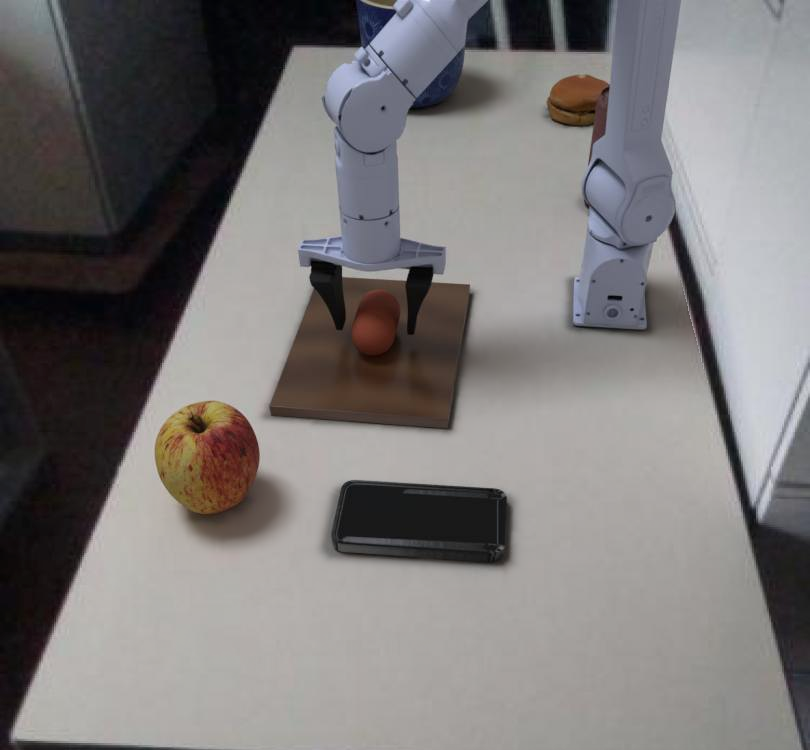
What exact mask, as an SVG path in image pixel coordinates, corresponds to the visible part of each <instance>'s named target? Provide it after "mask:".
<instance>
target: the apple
mask: <svg viewBox="0 0 810 750" xmlns="http://www.w3.org/2000/svg"><path fill="white" fill-rule="evenodd" d="M260 454H261V453H260V446H259V441H258V437H257V435H256V433H255V430H254V428H253V426H252V424H251V423H250V421H249V420H248V418H247V417H246V416H245V415H244V414H243V413H242V412H241V411H240V410H238V409H237V408H235V407H234V406H232V405H230V404H227V403H225V402H223V401H218V400H206V401H205V400H204V401H198V402H195V403H191V404H189V405H185V406H184V407H182V408H180V409H178V410H176V411H175V412H174V413H172V414H171V416H169V417H168V418H167V419H166V421H164V423H163V424H162V426H161V428H160V429H159V432H158V434H157V436H156V439H155V444H154V461H155V466H156V470H157V474H158V476H159V479H160V481H161V483H162V485H163V487H164V488H165V489H166V491H167V493H169V495H170V496H171V497H172V498H173V499H174V500H175V501H176V502H178V503H179V504H180V505H182V506H183V507H184V508H186V509H187V510H189V511H191V512H193V513H196V514H200V515H213V514H219V513H222V512H225V511H227V510H229V509H231V508H233V507H235V506H237V505H238V504H240V503H241V502H242V501H243V500H244V498H246V496H247V495H248V493H249V491H250V489H251V487H252V485H253V483H254V481H255V479H256V477H257V474H258V470H259V466H260V461H261V460H260V457H261V456H260Z"/></svg>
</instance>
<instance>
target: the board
mask: <svg viewBox="0 0 810 750" xmlns="http://www.w3.org/2000/svg"><path fill="white" fill-rule="evenodd" d="M342 284H343V295H344V302H345V309H346V321H345V324H344V327H343V330H336V327H335V324H334V321H333V318H332V316H331V314H330V312H329V309H328V308H327V306H326V304H325V302H324V300H323V299H322V297H321V296H320V295H319V293H318V292H317V291H316V290H315V289H314V288H313V289H312V293H311V295H310V298H309V301H308V303H307V306H306V308H305V311H304V314H303V317H302V319H301V321H300V324H299V326H298V329H297V332H296V334H295V337H294V340H293V343H292V345H291V348H290V350H289V353H288V355H287V358H286V361H285V363H284V366H283V369H282V372H281V374H280V376H279V379H278V382H277V384H276V388H275V390H274V393H273V395H272V398H271V400H270V403H269V405H268V407H269V412H270V415H271V416H279V417H293V418H306V419H318V420H331V421H345V422H356V423H357V422H359V423H369V424H384V425H395V426H397V425H398V426H409V427H421V428H422V427H423V428H435V429H448V428H449V423H450V417H451V409H452V405H453V398H454V391H455V386H456V379H457V374H458V367H459V361H460V356H461V350H462V343H463V337H464V331H465V324H466V319H467V313H468V306H469V301H470V294H471V284H469V283H453V282H452V283H451V282H438V281H437V282H435V281H432V284H431V287H430V289H429V291H428V293H427V295H426V297H425V298H424V300H423V302H422V304H421V307H420V309H419V312H418V315H417V323H416V329H415V333H414V335H407V318H408V305H407V295H406V288H405V284H406V280H399V279H384V278H382V279H381V278H365V277H349V276H342ZM376 289H382V290H386V291H388V292H390V293H392V294H393V295H394V296H395V297H396V299H397V300H398V302H399V305H400V318H399V322H398V326H397V330H396V334H395V338H394V341H393V344H392V345H391V347H390V348H389V349H388V350H387V351H386V352H384V353H383V354H380V355H377V356H370V355H366V354H364V353H362V352H360V351H359V350H358V349H357V348H356V346H355V345H354V343H353V341H352V337H351V329H352V325H353V322H354V318H355V315H356V312H357V309H358V306H359V303H360V301H361V299H362V297H363V296H364V295H365V294H367V293H368V292H370V291H372V290H376Z"/></svg>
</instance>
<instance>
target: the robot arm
mask: <svg viewBox="0 0 810 750" xmlns="http://www.w3.org/2000/svg"><path fill="white" fill-rule="evenodd" d="M488 1H489V0H398V1H397V2H396V3H395V4H394V6H393V8H394V9H395V10H396V12H397V13H396V14H395V15H394V16H393V17H392V18H391V20H390V21H389V22H388V23H387V24H386V25H385V27H384V28H383V29H382V30H381V31H380V32H379V33H378V35H377V36H376V37H375V38H374V39H373V40H372V42H371V43H370V45H371V46H372V47H373V48H372V47H371V46H370V45H368V46H367V47H366V48H365V49H364V48H363V47H362V46H360V47H359V48H358V49H357V51H356V52H355V53H354V54H353V57H354V60H350V63H348V62H345V63H343V64H341V65H340V66H338V67H337V68H336V69H335V70H334V71H333V72H332V74H331V75H330V76H329V79H328V80H327V83H326V87H327V88H326V90H325V91H324V95H322V96H321V102H322V105H323V109H324V110H325V113H326V114H327V116H328V117H329V119H330V120H331V121H332V122H333V123H334V124H335V127H333V134H334V135H333V136H334V137H333V138H334V150H335V156H334V157H335V158H334V165H335V166H334V167H335V175H336V176H335V177H336V187H337V189H336V190H337V201H338V211H339V221H340V233H341V235H340V236H331V237H326V238H325V237H324V238H315V239H314V238H313V239H306V238H305V239H302V240H301V241H300V244H299V246H298V248H297V253H298V260H299V266H300V267H302V268H310V273H309V276H308V277H309V278H308V279H309V282H310V286H311V287H312V288H313V290H314V289H315V290H316V291H317V292H318V293H319V295H320V296H321V297H322V299H323V300H324V302H325V304H326V306H327V308H328V309H329V312H330V314H331V316H332V318H333V321H334V324H335V327H336V330H343V327H344V324H345V321H346V309H345V302H344V295H343V284H342V277H343V267H345V268H349V269H352V270H356V271H361V272H371V273H372V272H381V271H388V270H396V269H399V270H401V269H402V270H408V274H407V277H406V280H405V281H406V284H405V288H406V295H407V305H408V318H407V335H414V333H415V329H416V323H417V315H418V312H419V309H420V307H421V304H422V302H423V300H424V298H425V297H426V295H427V293H428V291H429V289H430V287H431V284H432V282H433V278H434V275H444V274H445V270H446V265H447V263H446V262H447V247H446V246H438V245H432V244H428V243H423V242H421V241H415V240H412V239H408V238H404V237H401V215H400V212H401V211H400V186H399V185H400V184H399V183H400V182H399V157H398V149H397V148H398V147H397V146H398V145H397V141H398V140H399V139H400V138H401V137H402V135H403V133H404V130H405V128H406V124H407V120H408V113H409V110H410V107H411V106H412V105H413V102H414V101H415V100H416V98H417V97H418V96H419V95H420V94H421V93H422V92H423V91H424V90H425V89H426V88H427V86H428V85H429V84H430V83H431V82H432V81H433V80H434V79H435V78H436V77H437V76H438V74H439V73H440V72H441V71H442V70H443V69H444V68H445V67H446V66H447V65H448V63H449V62H450V61H451V60H452V59H453V58H454V57H455V56H456V55H457V53H458V52H459V51H460V50H461V49H462V48H463V47H464V45H465V46H466V44H465V40H466V41H467V33H466V31H467V32H468V23H469V20H470V19H471V18H472V17H473V16H474V15H475V14H477V12H478V11H479V10H480V9H481V8H482V7H484V5H486V3H487V2H488ZM681 4H682V0H617V5H616V13H615V15H616V16H615V25H614V37H613V48H612V58H611V70H610V78H609V81H610V82H609V85H610V89H609V100H608V110H607V121H606V132H605V135H604V136H603V137H602V138H600V139H599V140H598V141H596V142H595V143H594V144H593V150H592V157H591V161H590V164H589V166H588V165H587V167H586V170H585V172H584V173H583V174H584V175H583V176H582V179H581V185H580V187H581V194H582V195H581V196H582V197H584V198H583V200H584V199H585V201H586V202H587V203H588V204H589V205H590V207H589V208H588V214H587V216H588V221H587V228H586V234H585V242H584V249H583V254H582V255H583V256H582V261H581V269H580V276H579V275H578V276H575V277H574V279H573V303H572V304H573V305H572V306H573V307H572V308H573V309H572V312H573V313H572V323H573V325H574V326H577V327H590V328H591V327H592V328H593V327H594V328H606V329H607V328H608V329H609V328H610V329H623V330H625V329H626V330H641V331H643V330H646V329H647V327H648V323H647V310H646V295H645V292H646V287H647V281H648V271H649V266H650V262H651V258H652V252H653V248H654V243H655V242H656V243H657V240H658V238H660V236H662V234H664V232H665V231H666V230H667V229H668V227H669V226H670V224H671V223H672V221H673V218H674V216H675V212H676V205H677V204H676V203H677V202H676V198H675V196H674V193H673V189H672V180H673V174H674V173H673V169H672V165H671V163H670V160H669V157H668V155H667V152H666V150H665V147H664V144H663V140H662V137H663V129H664V122H665V115H666V108H667V101H668V94H669V87H670V80H671V74H672V67H673V59H674V53H675V45H676V38H677V31H678V25H679V17H680V11H681ZM374 50H375V51H376V52H377V53H378V54H377V53H376V52H375V51H374ZM407 88H408V89H409V90H410V91H409V90H408V89H407ZM412 94H413V95H414V96H415V97H416V98H415V97H414V96H413V95H412Z"/></svg>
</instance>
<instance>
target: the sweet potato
mask: <svg viewBox="0 0 810 750" xmlns="http://www.w3.org/2000/svg"><path fill="white" fill-rule="evenodd" d="M399 318H400V305H399V302H398V300H397V299H396V297H395V296H394V295H393V294H392V293H390V292H388V291H386V290H382V289H376V290H372V291H370V292H368V293H367V294H365V295H364V296H363V297H362V299H361V301H360V303H359V306H358V309H357V312H356V315H355V318H354V322H353V325H352V329H351V337H352V341H353V343H354V345H355V346H356V348H357V349H358V350H359V351H360V352H362V353H364V354H366V355H370V356H377V355H380V354H383V353H384V352H386V351H387V350H388V349H389V348H390V347H391V345H392V344H393V341H394V338H395V334H396V330H397V326H398V322H399Z"/></svg>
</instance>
